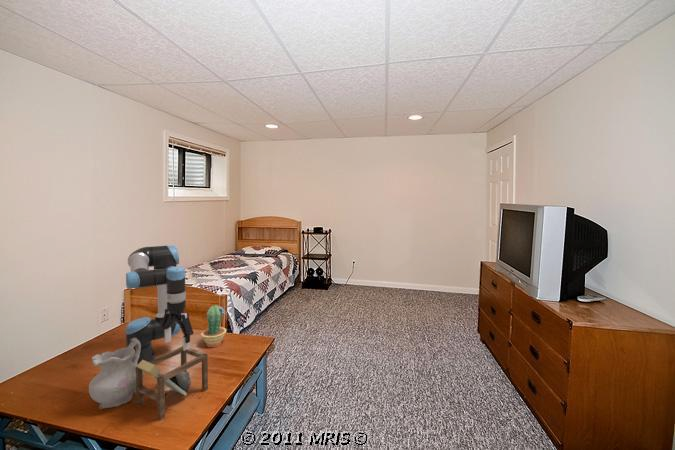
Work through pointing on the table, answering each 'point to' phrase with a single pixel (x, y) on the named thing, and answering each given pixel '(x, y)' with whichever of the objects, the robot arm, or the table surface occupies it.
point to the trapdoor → (158, 375)
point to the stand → (170, 376)
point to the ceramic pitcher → (115, 376)
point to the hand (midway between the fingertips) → (177, 345)
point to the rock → (182, 380)
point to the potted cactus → (214, 327)
